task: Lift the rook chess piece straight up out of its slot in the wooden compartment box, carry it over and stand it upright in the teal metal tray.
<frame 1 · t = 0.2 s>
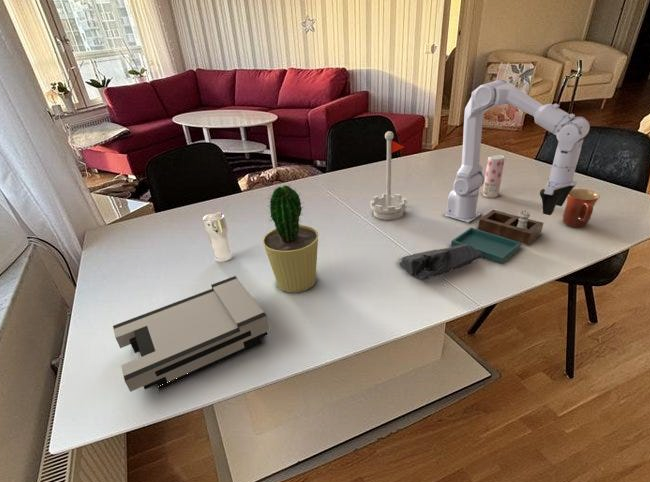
hand: (552, 209, 117), 10 cm above the table, tool pointing down, fingers open, 7 cm apart
mug: (575, 226, 127), on the table
game console: (196, 344, 97), on the table
dark slate chunk: (441, 263, 115), point 1 cm above the table, touching tray
flag stand: (388, 213, 148), on the table
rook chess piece: (519, 235, 126), resting in wooden compartment box
potted cactus: (296, 281, 116), on the table
beverage can: (490, 195, 153), on the table
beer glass: (224, 257, 132), on the table
wooden compartment box: (508, 231, 128), on the table
tray: (484, 247, 122), on the table
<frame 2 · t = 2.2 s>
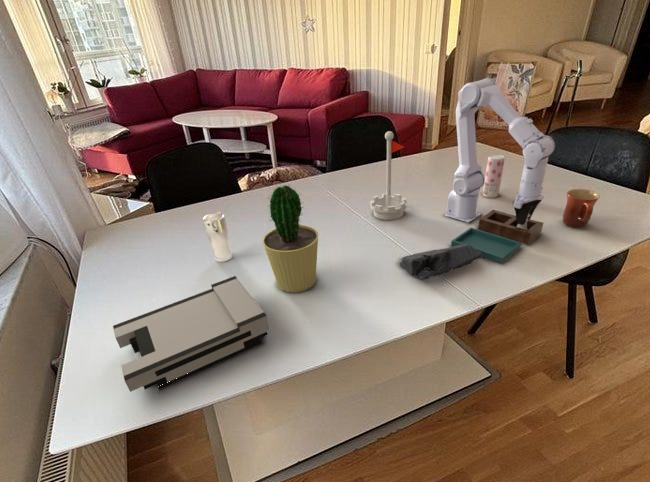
hand: (522, 221, 123), 5 cm above the table, tool pointing down, fingers closed on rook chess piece, 3 cm apart
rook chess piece: (519, 235, 126), resting in wooden compartment box, touching gripper
everything else where it was.
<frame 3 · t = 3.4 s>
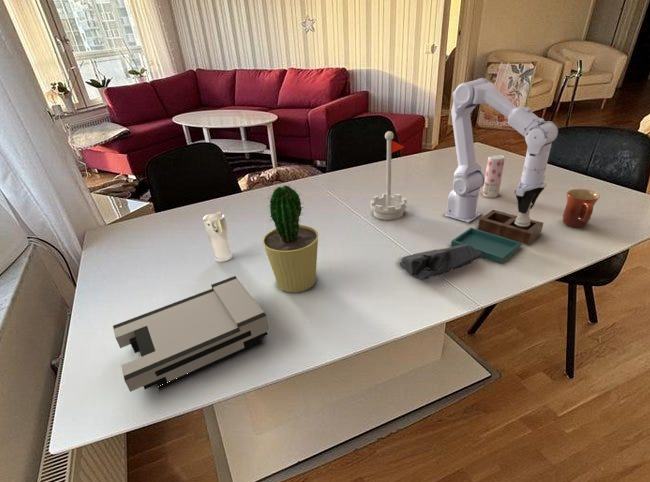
hand: (525, 210, 121), 9 cm above the table, tool pointing down, fingers closed on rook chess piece, 3 cm apart
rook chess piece: (521, 224, 124), point 4 cm above the table, touching gripper
everything else where it was.
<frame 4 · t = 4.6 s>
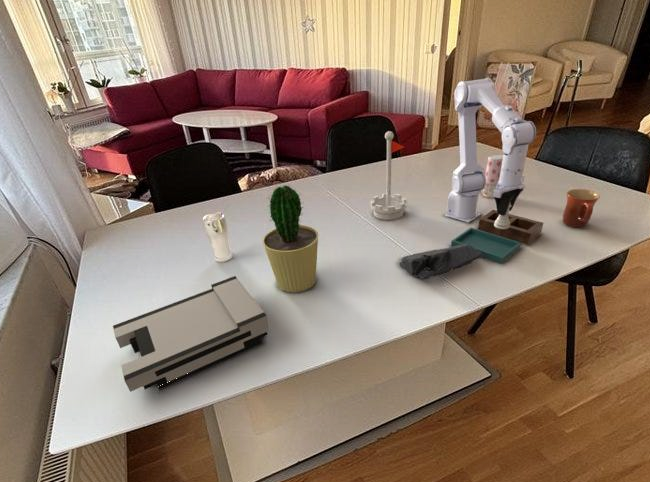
hand: (504, 212, 117), 10 cm above the table, tool pointing down, fingers closed on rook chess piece, 3 cm apart
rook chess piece: (501, 227, 120), point 5 cm above the table, touching gripper
everything else where it was.
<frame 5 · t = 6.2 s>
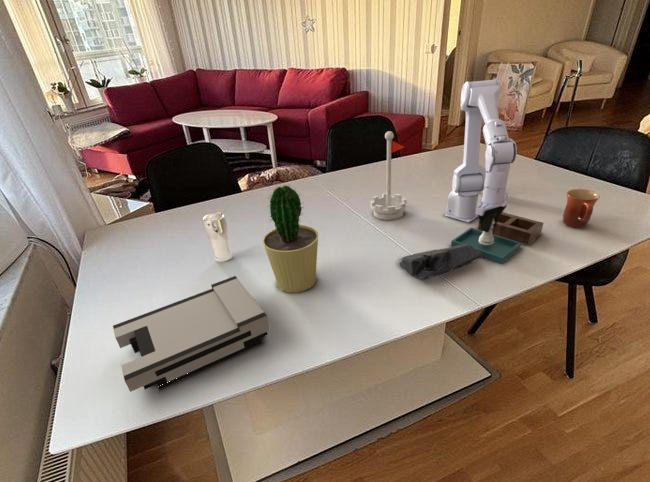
hand: (487, 228, 118), 6 cm above the table, tool pointing down, fingers closed on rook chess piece, 3 cm apart
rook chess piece: (485, 243, 121), point 1 cm above the table, touching gripper
everything else where it was.
when the fingers open (5 cm above the table, at t = 6.9 s): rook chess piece stays where it is, resting on tray.
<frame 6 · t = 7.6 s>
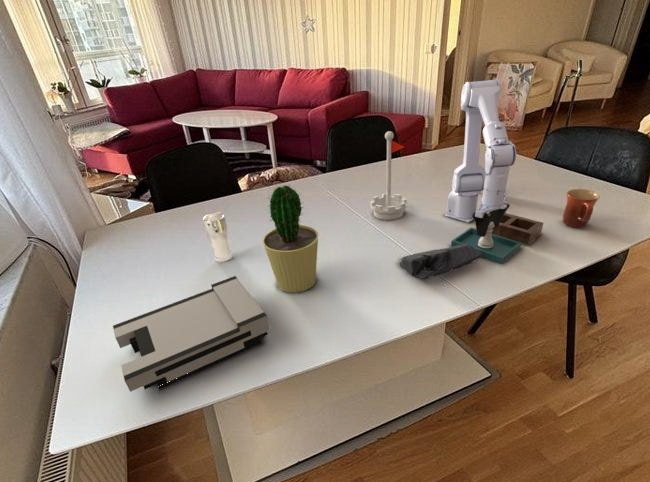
hand: (487, 230, 119), 6 cm above the table, tool pointing down, fingers open, 7 cm apart
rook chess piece: (485, 246, 121), resting on tray
everything else where it was.
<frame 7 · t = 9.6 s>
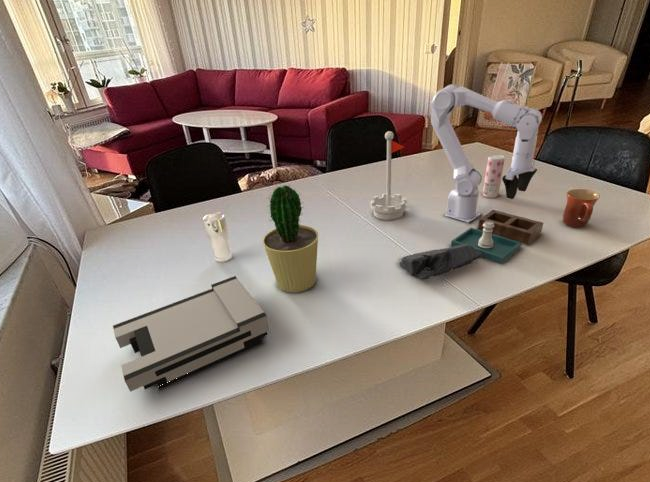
hand: (516, 194, 127), 10 cm above the table, tool pointing down, fingers open, 7 cm apart
nothing on the table moved.
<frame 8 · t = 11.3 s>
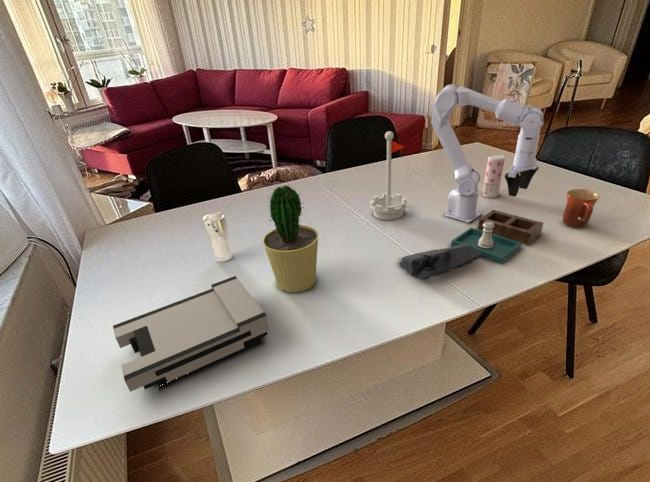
hand: (517, 192, 128), 10 cm above the table, tool pointing down, fingers open, 7 cm apart
nothing on the table moved.
at the end: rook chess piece inside the target area in the tray (0.0 cm from its centre), point 0.3 cm above the tray's base; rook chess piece tilted 0°; the gripper is holding nothing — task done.
